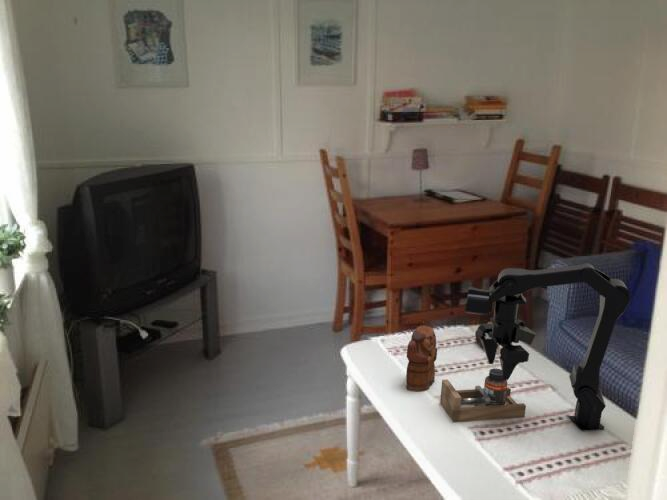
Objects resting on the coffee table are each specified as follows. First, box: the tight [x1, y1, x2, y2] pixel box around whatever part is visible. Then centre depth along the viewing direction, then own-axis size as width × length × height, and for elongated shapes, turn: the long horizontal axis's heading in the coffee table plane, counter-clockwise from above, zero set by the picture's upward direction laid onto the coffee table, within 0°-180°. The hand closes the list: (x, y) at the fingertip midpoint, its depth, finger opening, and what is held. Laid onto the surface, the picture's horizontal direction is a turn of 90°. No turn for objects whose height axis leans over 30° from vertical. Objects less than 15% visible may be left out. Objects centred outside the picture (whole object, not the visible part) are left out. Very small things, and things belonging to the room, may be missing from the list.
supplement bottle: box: [483, 368, 508, 406], centre depth 161 cm, size 6×6×11 cm
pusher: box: [462, 385, 490, 406], centre depth 160 cm, size 7×6×5 cm
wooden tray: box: [439, 379, 527, 423], centre depth 161 cm, size 10×20×7 cm, turn 100°
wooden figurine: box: [405, 325, 438, 392], centre depth 172 cm, size 12×6×18 cm, turn 149°
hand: (498, 371), depth 159 cm, fingers open, 9 cm apart
